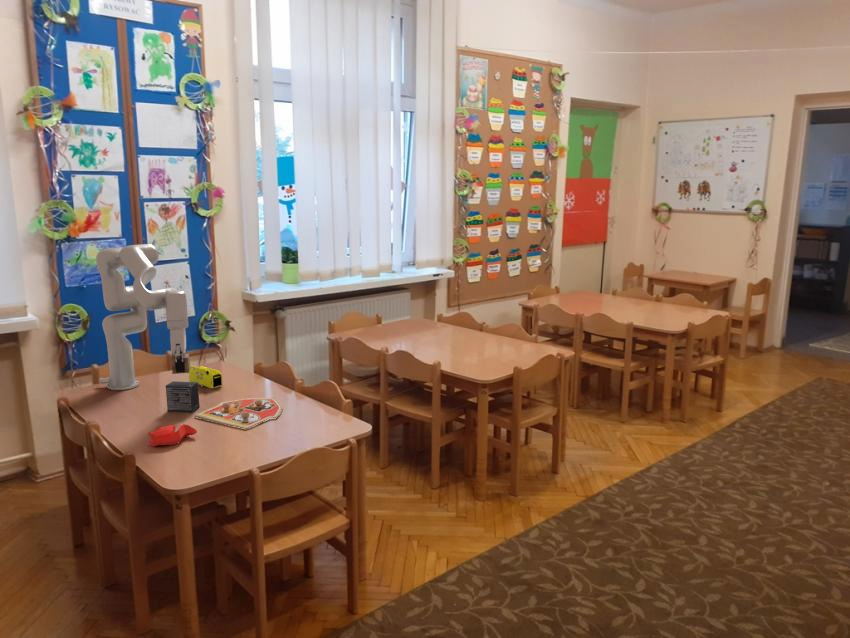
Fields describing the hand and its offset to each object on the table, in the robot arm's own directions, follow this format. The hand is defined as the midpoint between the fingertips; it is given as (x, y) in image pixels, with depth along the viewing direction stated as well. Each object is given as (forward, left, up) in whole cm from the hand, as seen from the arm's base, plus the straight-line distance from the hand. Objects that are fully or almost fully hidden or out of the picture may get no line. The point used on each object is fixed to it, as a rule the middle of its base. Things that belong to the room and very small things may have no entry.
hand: (181, 369), depth 253 cm
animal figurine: (-1, -31, -17) cm, 35 cm away
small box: (0, 0, -17) cm, 17 cm away
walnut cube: (0, 0, -1) cm, 1 cm away
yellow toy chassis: (+7, +29, -17) cm, 34 cm away
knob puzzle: (+24, -9, -17) cm, 31 cm away
